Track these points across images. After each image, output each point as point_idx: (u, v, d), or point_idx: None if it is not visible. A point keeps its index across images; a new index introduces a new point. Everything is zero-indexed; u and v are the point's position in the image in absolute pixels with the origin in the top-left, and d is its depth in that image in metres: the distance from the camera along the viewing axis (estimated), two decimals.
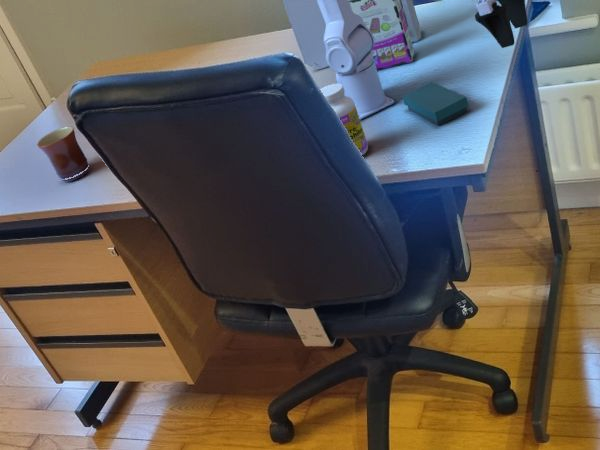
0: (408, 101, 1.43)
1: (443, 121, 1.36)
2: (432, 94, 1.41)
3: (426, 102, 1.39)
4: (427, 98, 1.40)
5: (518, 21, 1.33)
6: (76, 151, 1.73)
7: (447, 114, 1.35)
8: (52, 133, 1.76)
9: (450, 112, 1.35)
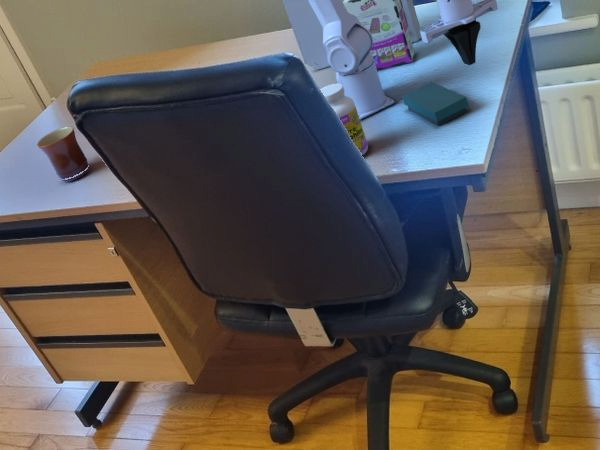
0: (408, 101, 1.43)
1: (443, 121, 1.36)
2: (432, 94, 1.41)
3: (426, 102, 1.39)
4: (427, 98, 1.40)
5: None
6: (76, 151, 1.73)
7: (447, 114, 1.35)
8: (52, 133, 1.76)
9: (450, 112, 1.35)
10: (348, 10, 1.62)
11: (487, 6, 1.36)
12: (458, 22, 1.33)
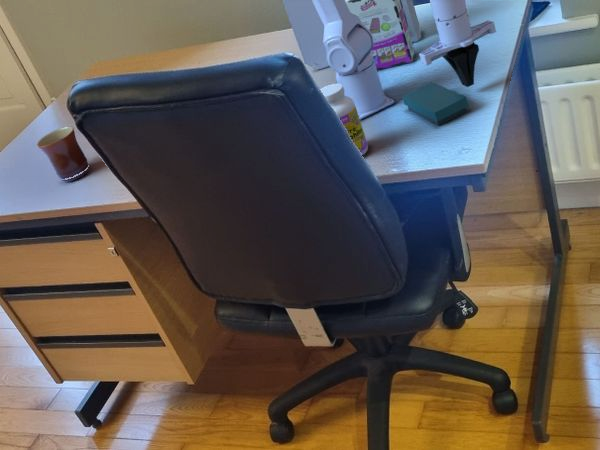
0: (408, 101, 1.43)
1: (443, 121, 1.36)
2: (432, 94, 1.41)
3: (426, 102, 1.39)
4: (427, 98, 1.40)
5: None
6: (76, 151, 1.73)
7: (447, 114, 1.35)
8: (52, 133, 1.76)
9: (450, 112, 1.35)
10: None
11: (485, 29, 1.37)
12: (457, 45, 1.35)
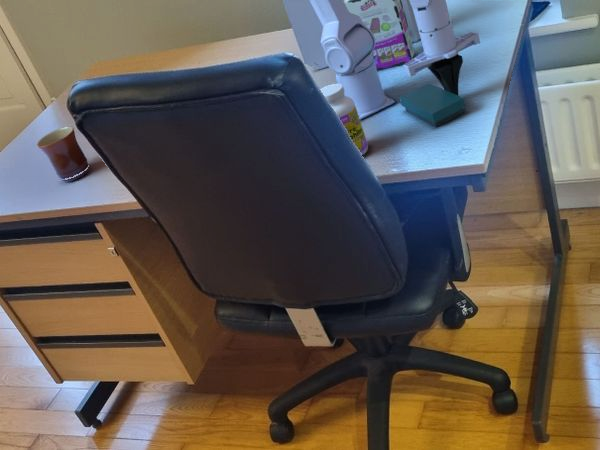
0: (406, 102, 1.43)
1: (440, 122, 1.36)
2: (429, 95, 1.41)
3: (423, 103, 1.39)
4: (425, 99, 1.40)
5: None
6: (76, 151, 1.73)
7: (444, 115, 1.35)
8: (52, 133, 1.76)
9: (447, 113, 1.35)
10: (348, 10, 1.62)
11: (469, 40, 1.37)
12: (441, 56, 1.35)
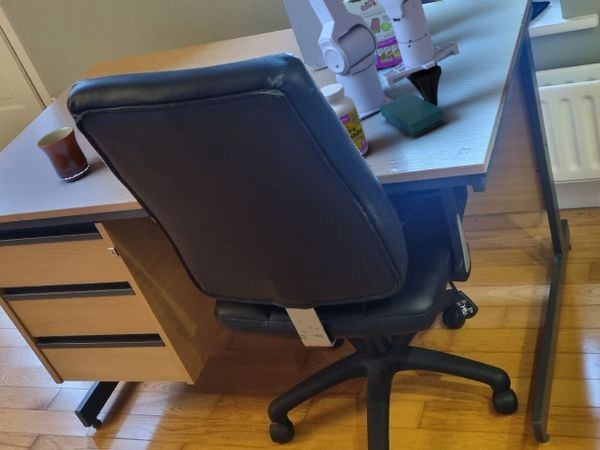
0: (385, 112, 1.42)
1: (419, 133, 1.36)
2: (409, 106, 1.40)
3: (402, 114, 1.38)
4: (404, 110, 1.39)
5: None
6: (76, 151, 1.73)
7: (423, 126, 1.35)
8: (52, 133, 1.76)
9: (426, 124, 1.35)
10: (348, 10, 1.62)
11: (448, 50, 1.36)
12: (419, 67, 1.34)
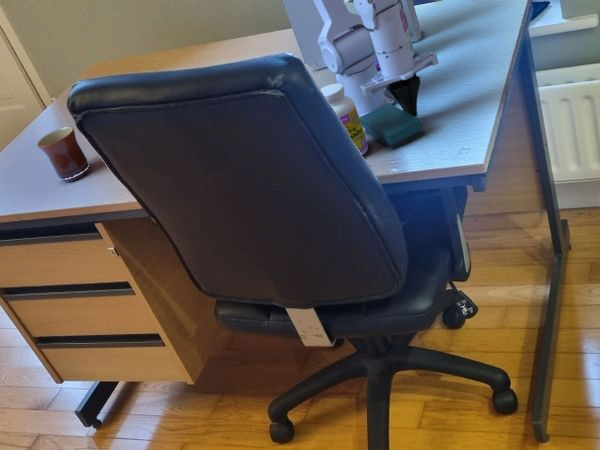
0: (365, 123, 1.42)
1: (398, 144, 1.35)
2: (388, 116, 1.39)
3: (381, 124, 1.38)
4: (383, 120, 1.39)
5: None
6: (76, 151, 1.73)
7: (401, 137, 1.34)
8: (52, 133, 1.76)
9: (404, 135, 1.34)
10: (348, 10, 1.62)
11: (427, 61, 1.36)
12: (397, 78, 1.33)
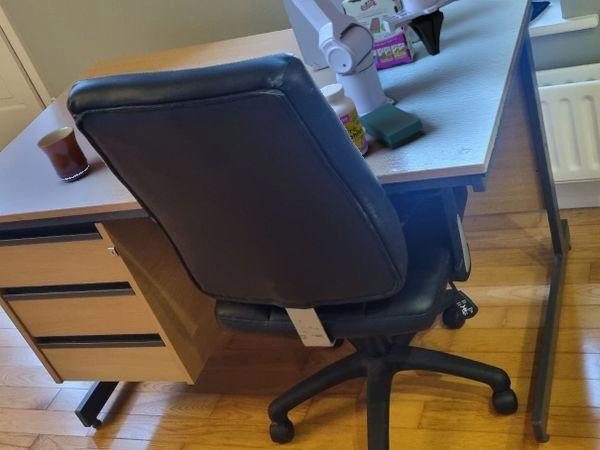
0: (365, 123, 1.42)
1: (398, 144, 1.35)
2: (388, 116, 1.39)
3: (381, 124, 1.38)
4: (383, 120, 1.39)
5: None
6: (76, 151, 1.73)
7: (401, 137, 1.34)
8: (52, 133, 1.76)
9: (404, 135, 1.34)
10: (348, 10, 1.62)
11: None
12: (421, 12, 1.33)
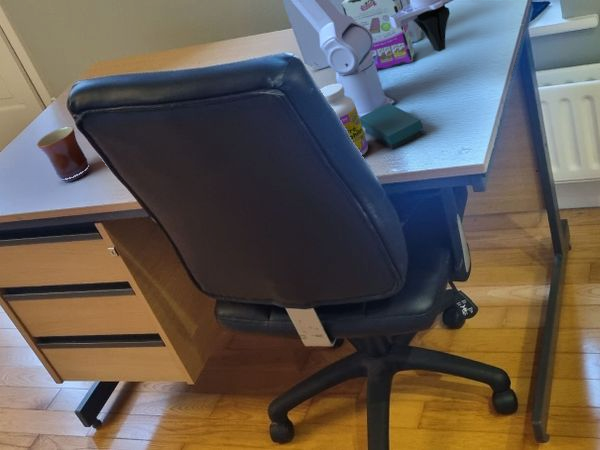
0: (365, 123, 1.42)
1: (398, 144, 1.35)
2: (388, 116, 1.39)
3: (381, 124, 1.38)
4: (383, 120, 1.39)
5: None
6: (76, 151, 1.73)
7: (401, 137, 1.34)
8: (52, 133, 1.76)
9: (404, 135, 1.34)
10: (348, 10, 1.62)
11: None
12: (427, 8, 1.34)
